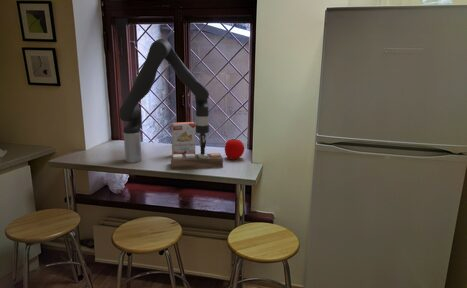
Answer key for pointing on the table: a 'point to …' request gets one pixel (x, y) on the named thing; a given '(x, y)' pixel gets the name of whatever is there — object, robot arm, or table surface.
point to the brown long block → (196, 162)
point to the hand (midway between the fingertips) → (202, 154)
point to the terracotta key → (214, 155)
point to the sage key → (202, 155)
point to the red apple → (234, 149)
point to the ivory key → (177, 156)
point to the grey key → (190, 156)
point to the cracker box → (183, 138)
